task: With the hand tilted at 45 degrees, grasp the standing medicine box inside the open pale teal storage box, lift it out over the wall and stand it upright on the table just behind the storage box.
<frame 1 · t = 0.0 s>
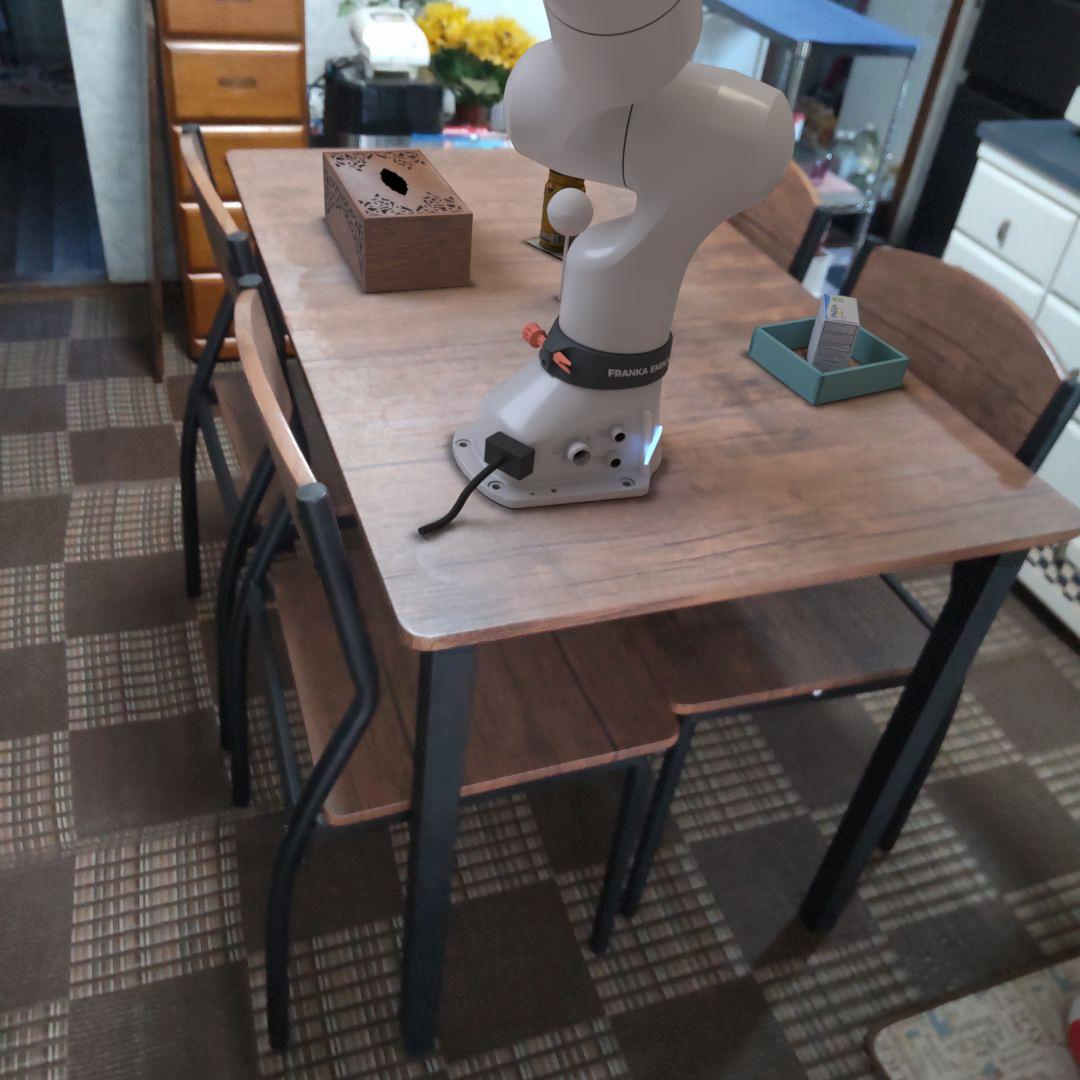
storage box: (822, 370, 126), on the table
medicine box: (822, 372, 126), resting in storage box
lollipop: (560, 300, 136), on the table
condiment: (562, 248, 150), on the table
tissue box cover: (393, 252, 143), on the table
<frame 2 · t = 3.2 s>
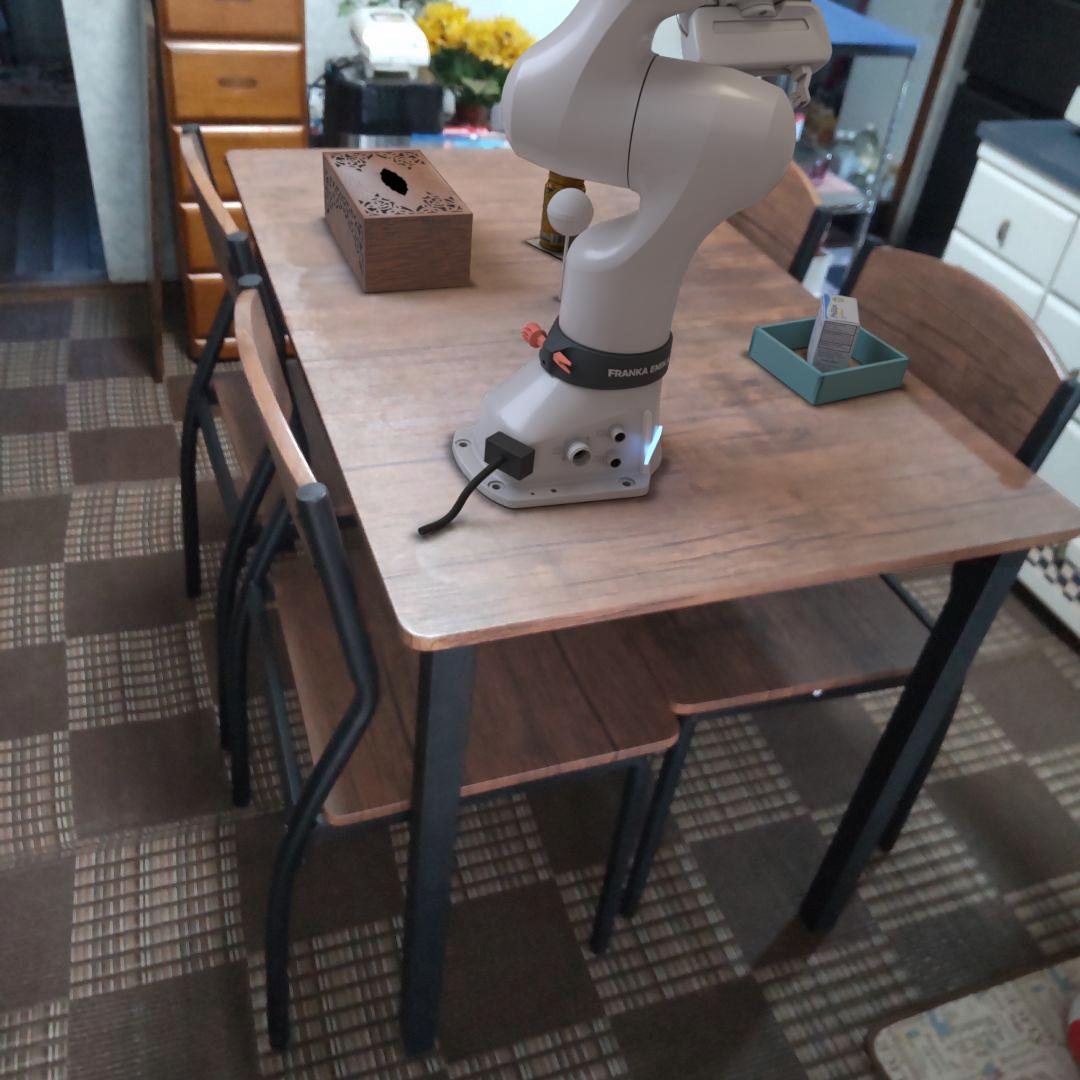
hand: (771, 107, 123), 26 cm above the table, tool tilted 45°, fingers open, 8 cm apart
nothing on the table moved.
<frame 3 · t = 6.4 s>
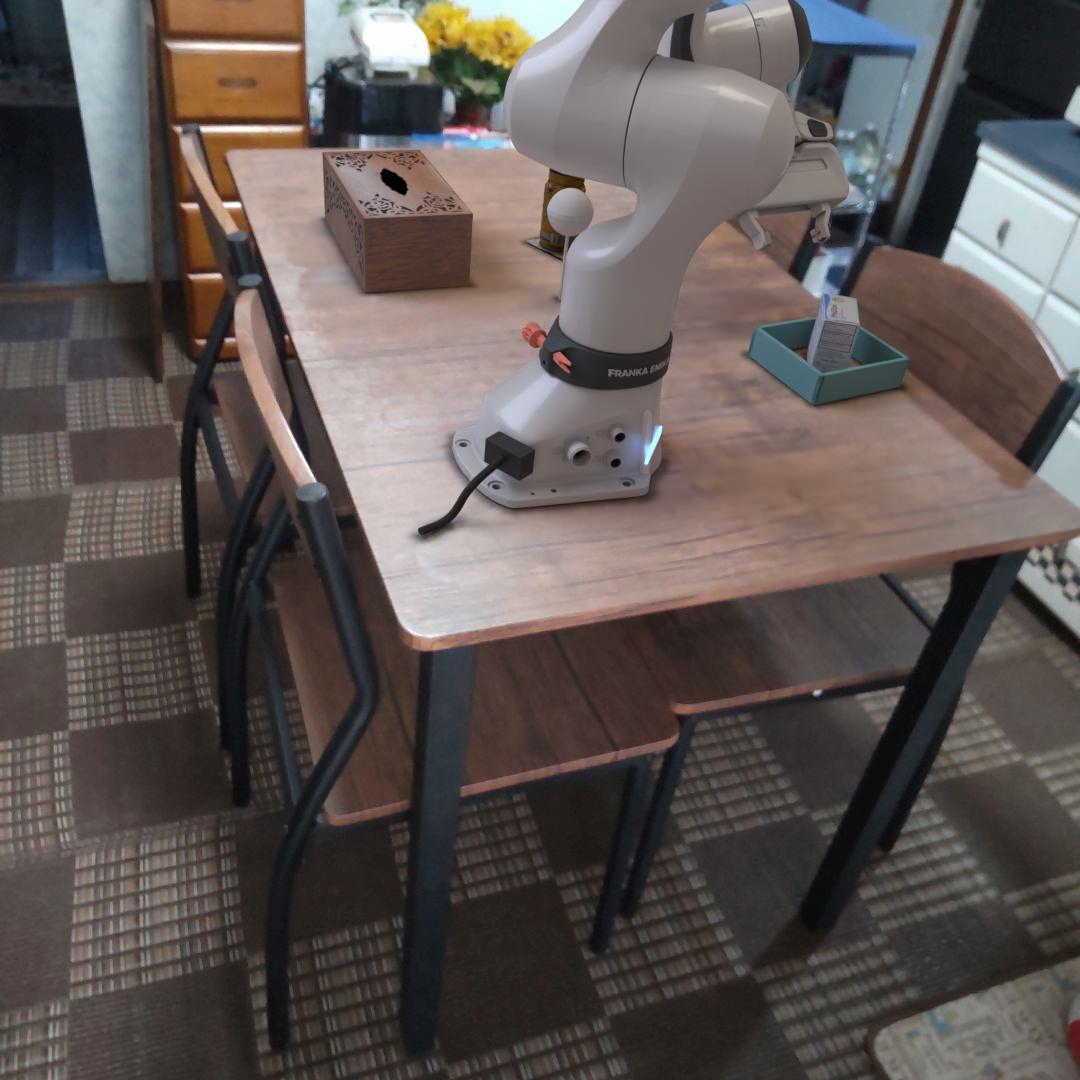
hand: (793, 244, 126), 12 cm above the table, tool tilted 45°, fingers open, 8 cm apart
nothing on the table moved.
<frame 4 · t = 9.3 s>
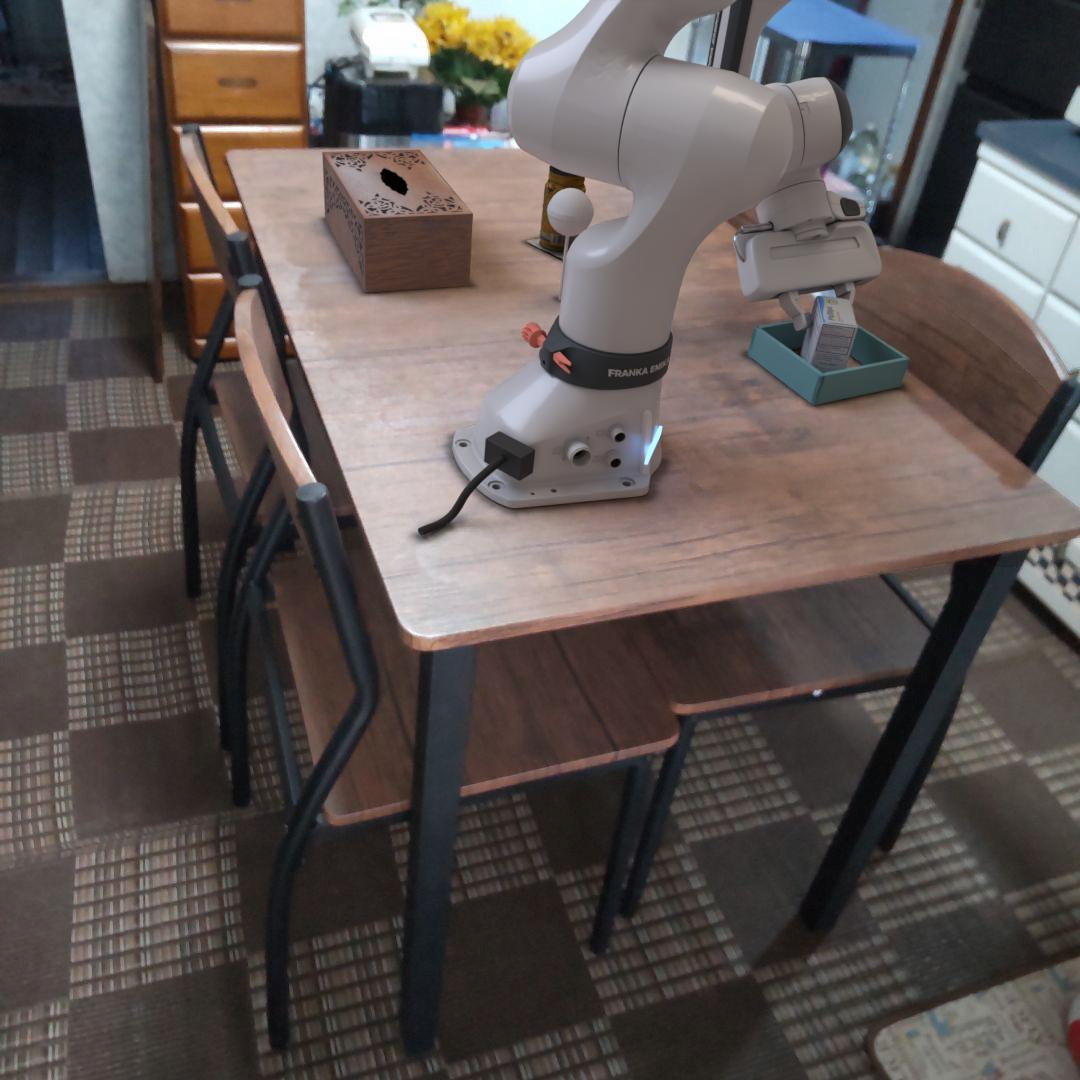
hand: (826, 325, 124), 5 cm above the table, tool tilted 45°, fingers closed on medicine box, 5 cm apart
medicine box: (818, 374, 126), resting in storage box, touching gripper
everything else where it was.
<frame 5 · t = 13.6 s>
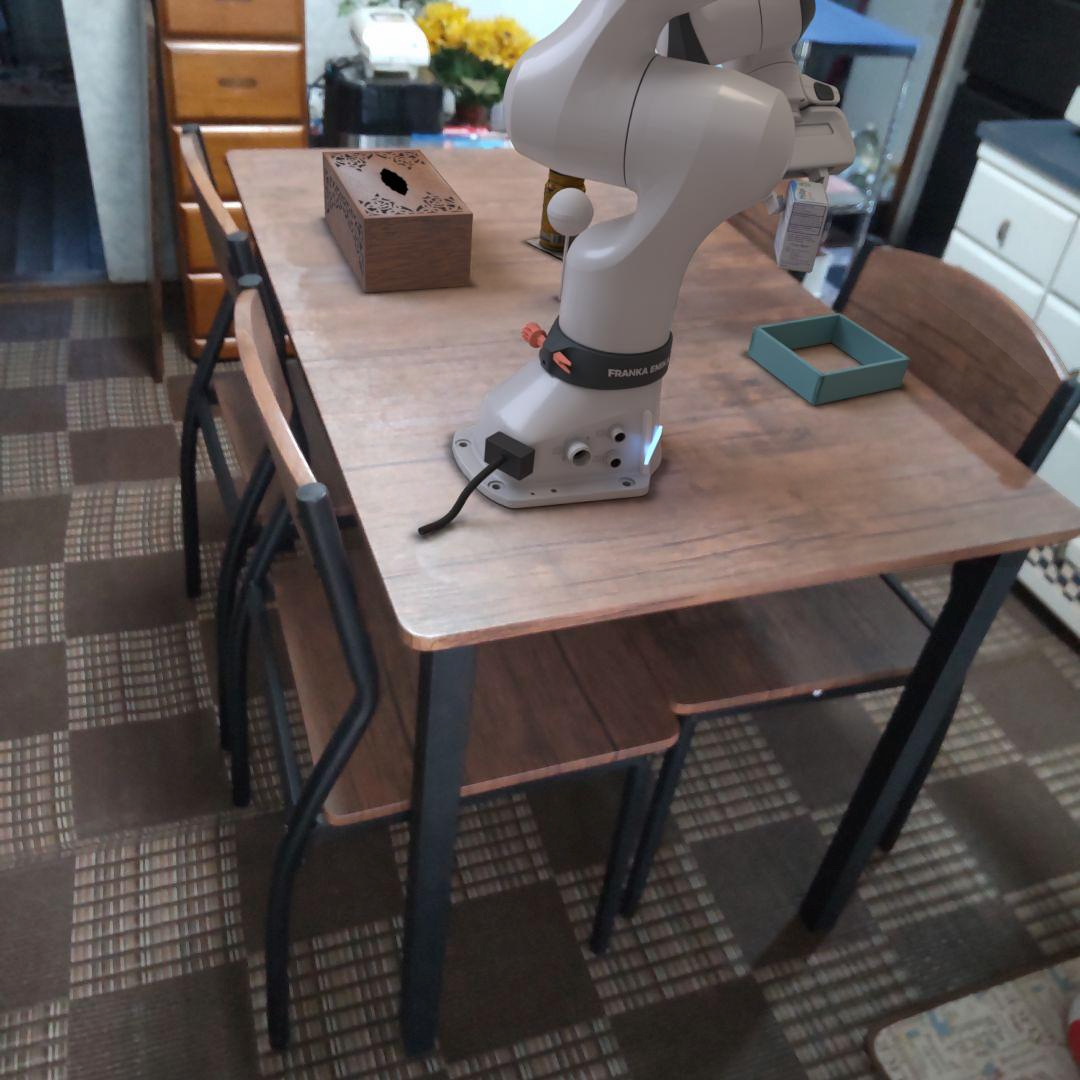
hand: (799, 210, 124), 16 cm above the table, tool tilted 45°, fingers closed on medicine box, 5 cm apart
medicine box: (791, 261, 125), point 11 cm above the table, touching gripper
everything else where it was.
when the fingers open (5 cm above the table, at t = 18.0 s): medicine box stays where it is, on the table.
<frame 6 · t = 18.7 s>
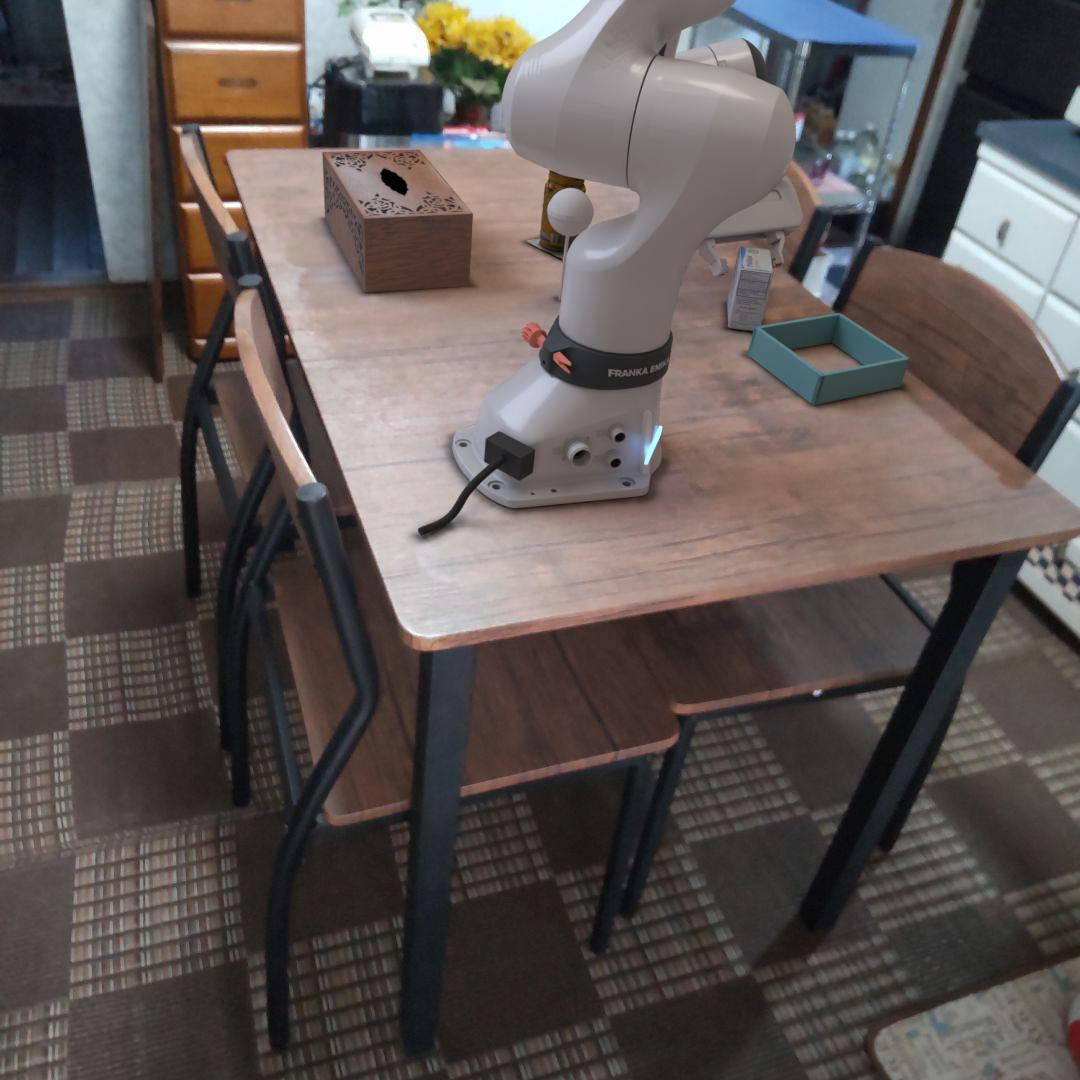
hand: (749, 270, 135), 6 cm above the table, tool tilted 45°, fingers open, 8 cm apart
medicine box: (742, 320, 136), on the table
everything else where it was.
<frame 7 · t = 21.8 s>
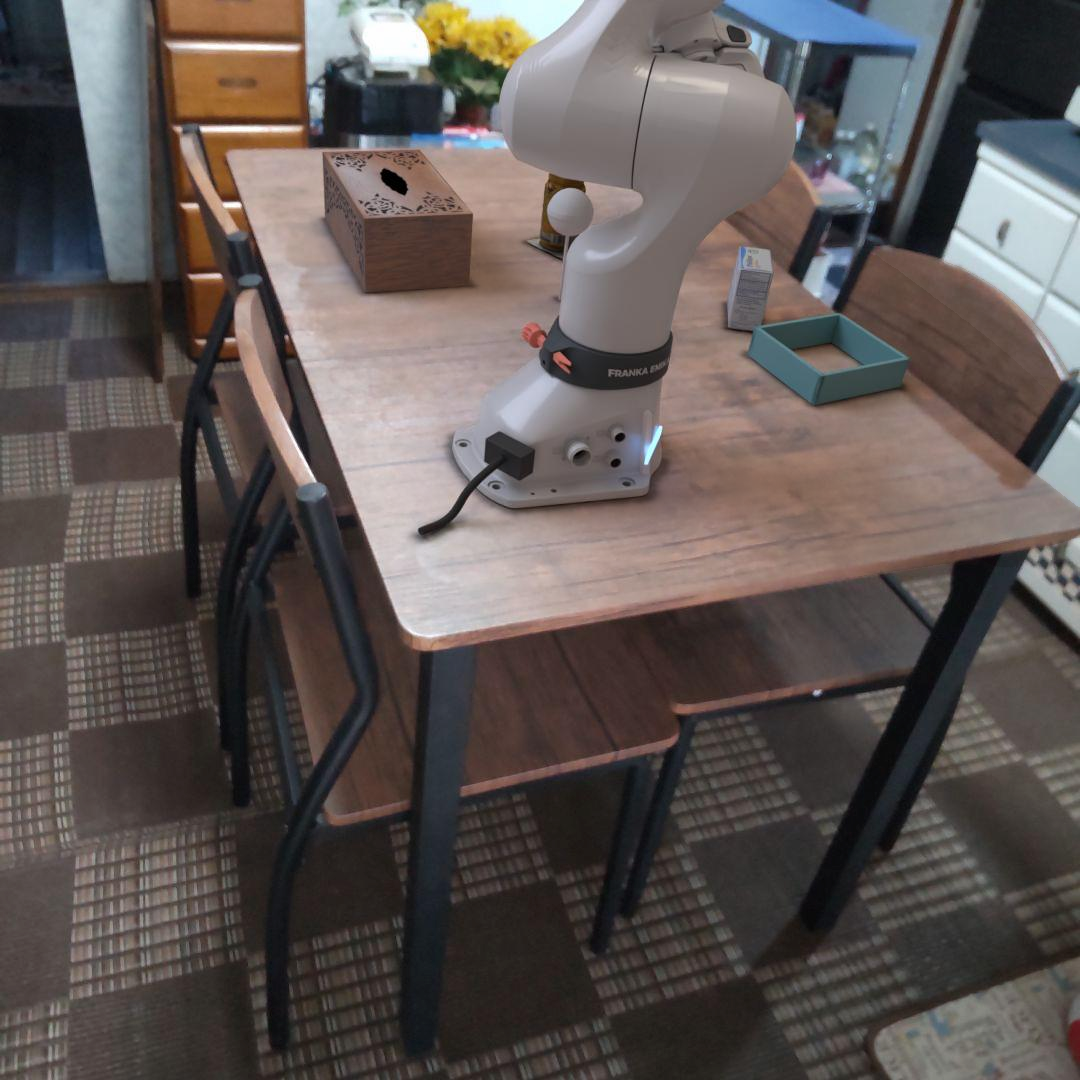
hand: (714, 143, 134), 19 cm above the table, tool tilted 45°, fingers open, 8 cm apart
nothing on the table moved.
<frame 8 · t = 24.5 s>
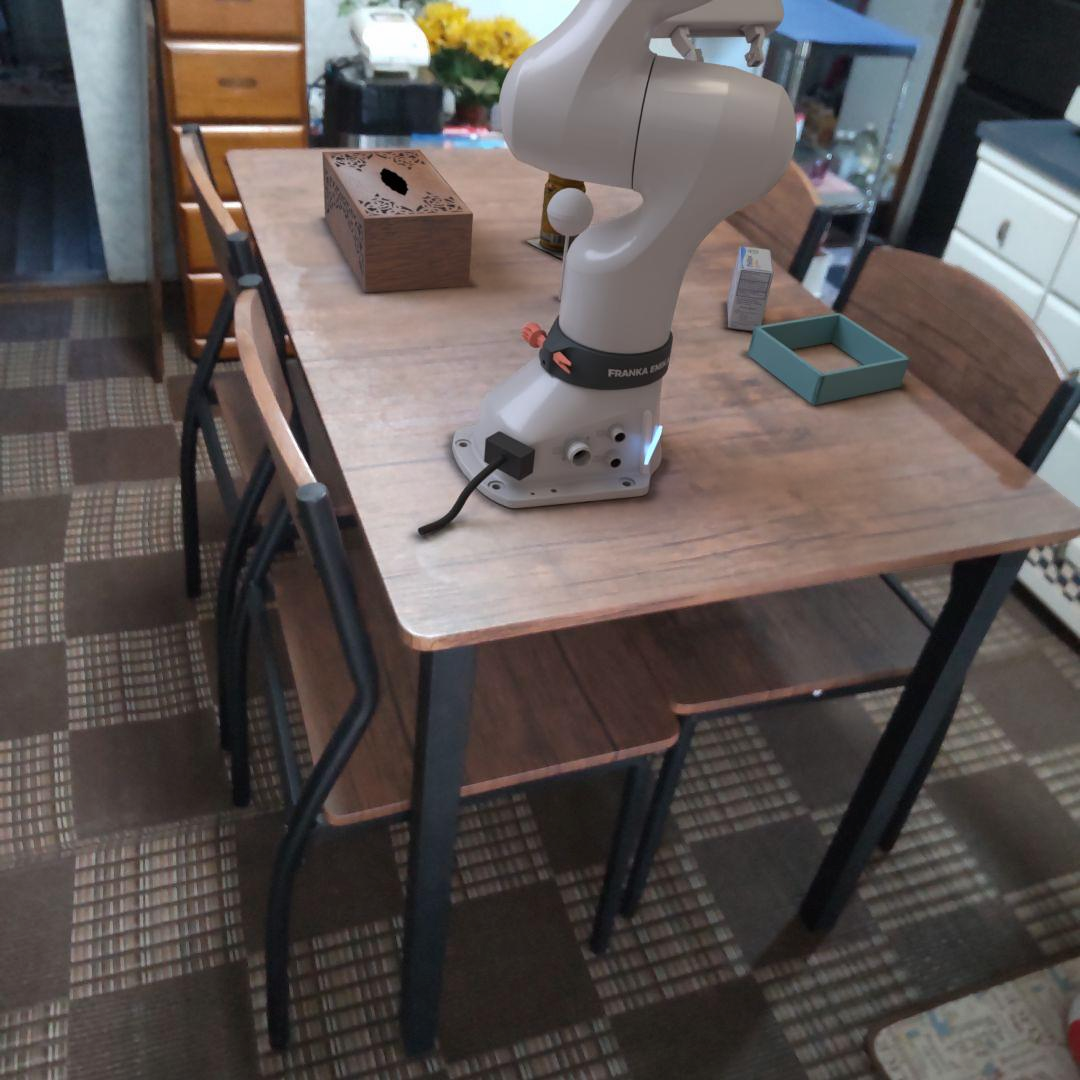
hand: (726, 65, 125), 29 cm above the table, tool tilted 45°, fingers open, 8 cm apart
nothing on the table moved.
at the end: medicine box inside the target area (1.5 cm from its centre), on the table; medicine box tilted 0°; the gripper is holding nothing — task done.
